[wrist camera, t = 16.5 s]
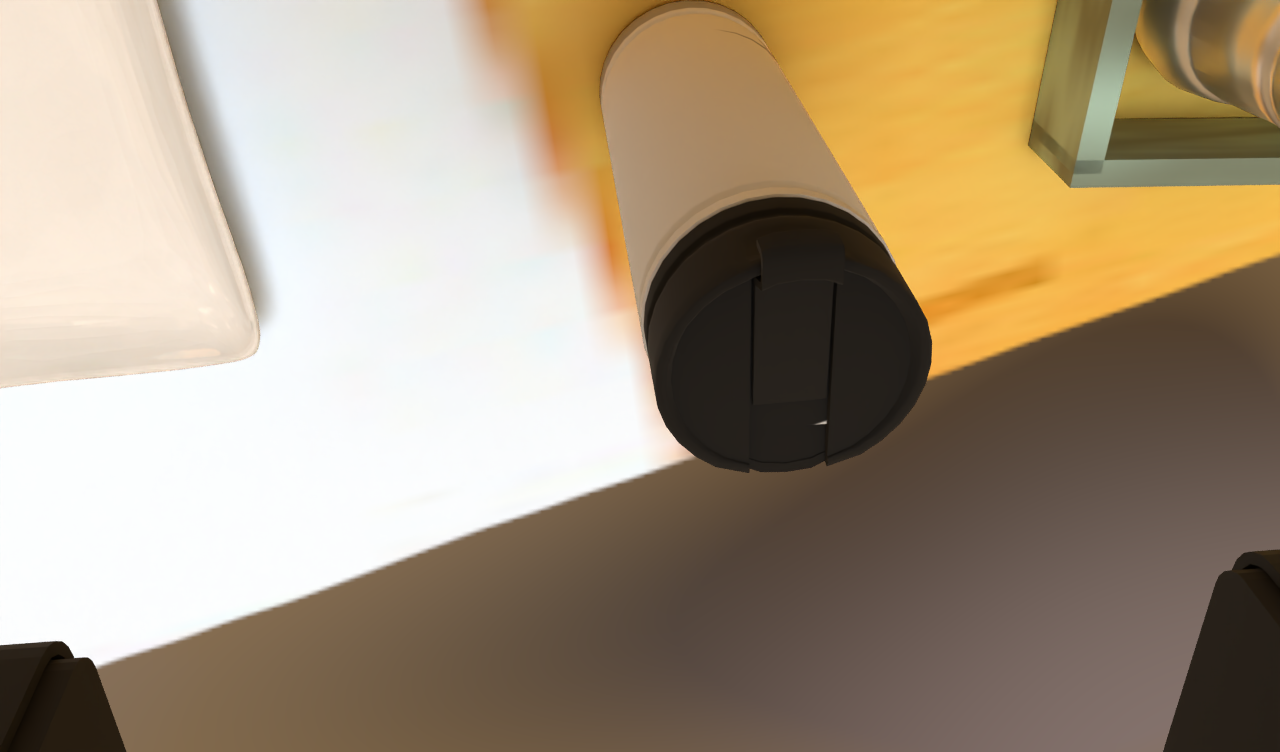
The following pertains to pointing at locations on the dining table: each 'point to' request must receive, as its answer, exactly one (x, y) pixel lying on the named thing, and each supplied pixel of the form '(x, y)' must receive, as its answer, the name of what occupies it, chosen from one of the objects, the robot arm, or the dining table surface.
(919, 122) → the dining table surface
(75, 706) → the robot arm
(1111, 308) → the dining table surface
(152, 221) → the salad plate
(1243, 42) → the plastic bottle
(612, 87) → the travel mug
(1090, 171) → the dock
